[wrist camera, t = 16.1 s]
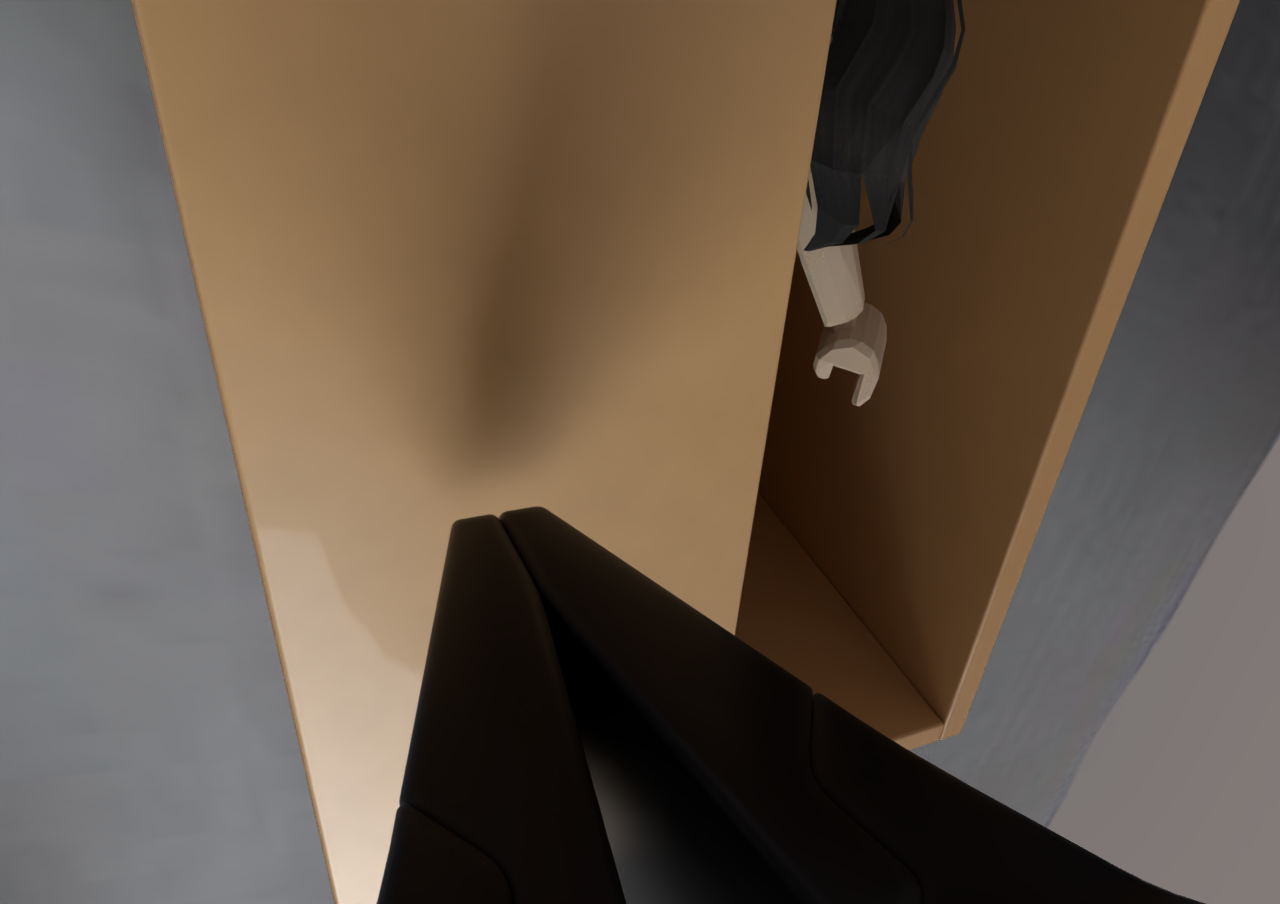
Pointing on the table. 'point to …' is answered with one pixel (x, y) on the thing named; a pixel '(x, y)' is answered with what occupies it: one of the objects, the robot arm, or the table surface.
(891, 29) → the toy figure
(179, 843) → the table surface
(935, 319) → the carton
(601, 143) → the flap
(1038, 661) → the table surface
